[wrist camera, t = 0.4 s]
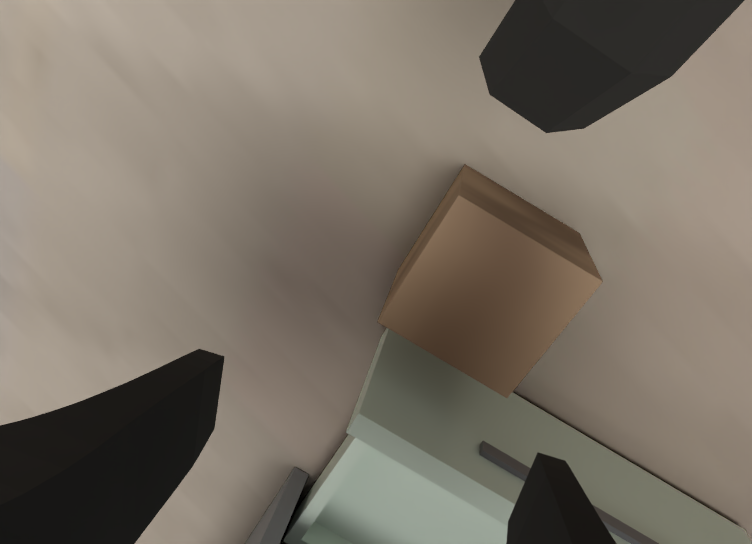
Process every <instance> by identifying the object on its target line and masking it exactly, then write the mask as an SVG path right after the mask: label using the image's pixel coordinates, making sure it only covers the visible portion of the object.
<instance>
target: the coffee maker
mask: <svg viewBox="0 0 752 544" xmlns="http://www.w3.org/2000/svg"><path fill="white" fill-rule="evenodd" d="M743 1H744V0H515V2H514V3H513V5H512V6H511V8H510V10H509V11H508V13H507V14H506V16H505V17H504V19H503V20H502V22H501V24H500V25H499V27H498V28H497V30H496V31H495V33H494V34H493V36H492V38H491V39H490V41H489V42H488V44H487V45H486V47H485V48H484V50H483V52H482V53H481V55H480V56H479V58H480V62H481V65H482V69H483V72H484V76H485V79H486V83H487V86H488V90H489V94H490V95H491V96H493V97H494V98H496V99H497V100H499V101H500V102H502V103H503V104H505V105H506V106H507V107H509V108H510V109H512V110H513V111H515V112H516V113H518V114H519V115H521V116H522V117H524V118H525V119H527V120H528V121H530V122H531V123H532V124H534V125H535V126H537V127H538V128H540V129H541V130H543V131H544V132H546V133H550V132H558V131H567V130H575V129H584V128H586V127H587V126H589V125H591V124H592V123H594V122H596V121H597V120H599V119H601V118H602V117H604V116H606V115H607V114H609V113H611V112H612V111H614V110H616V109H618V108H619V107H621V106H623V105H624V104H626V103H628V102H629V101H631V100H633V99H634V98H636V97H638V96H639V95H641V94H643V93H644V92H646V91H648V90H649V89H651V88H653V87H655V86H656V85H658V84H660V83H661V82H663V81H665V80H666V79H668V78H670V77H671V76H672V75H673V74H674V73H675V72H676V71H677V70H678V69H679V68H680V67H681V66H682V65H683V64H684V63H685V62H686V61H687V60H688V59H689V58H690V57H691V56H692V54H693V53H694V52H695V51H696V50H697V49H698V48H699V47H700V46H701V45H702V44H703V43H704V42H705V41H706V40H707V39H708V38H709V37H710V36H711V35H712V34H713V33H714V32H715V31H716V29H717V28H718V27H719V26H720V25H721V24H722V23H723V22H724V21H725V20H726V19H727V18H728V17H729V16H730V15H731V14H732V13H733V12H734V11H735V10H736V9H737V8H738V7H739V6H740V5H741V3H742V2H743Z"/></svg>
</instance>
